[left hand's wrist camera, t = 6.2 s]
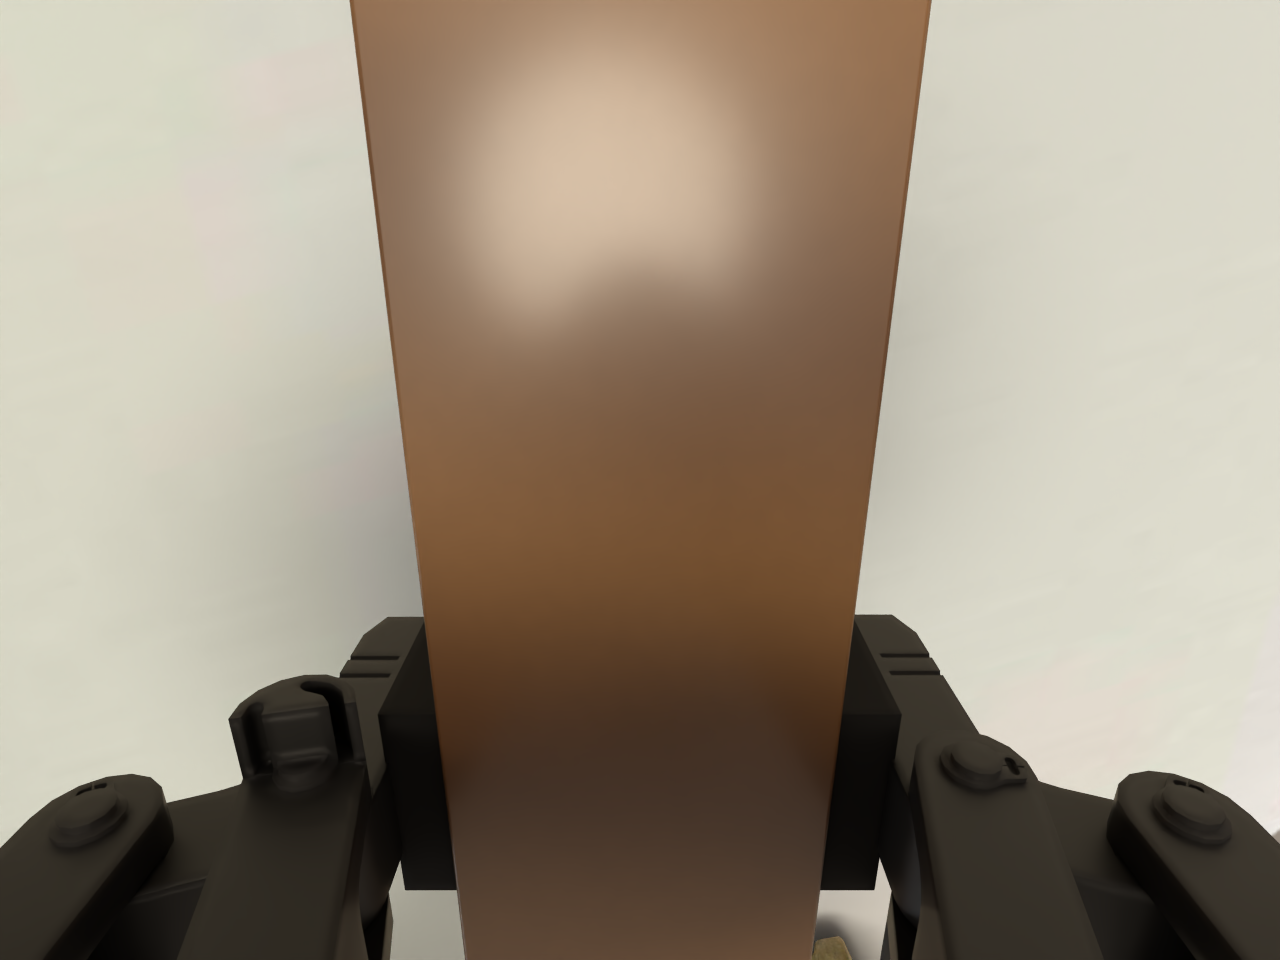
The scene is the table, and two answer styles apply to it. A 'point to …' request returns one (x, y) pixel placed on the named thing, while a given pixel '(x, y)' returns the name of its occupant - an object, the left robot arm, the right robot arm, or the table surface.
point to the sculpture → (831, 949)
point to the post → (639, 439)
